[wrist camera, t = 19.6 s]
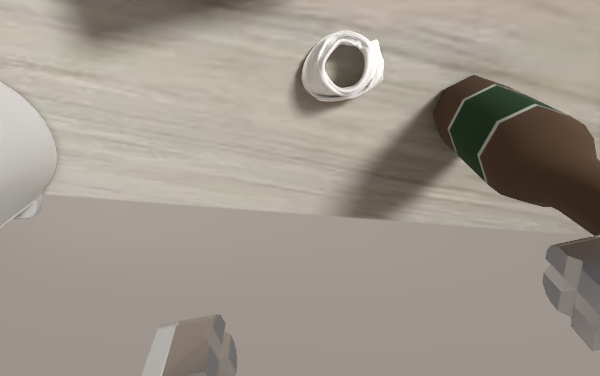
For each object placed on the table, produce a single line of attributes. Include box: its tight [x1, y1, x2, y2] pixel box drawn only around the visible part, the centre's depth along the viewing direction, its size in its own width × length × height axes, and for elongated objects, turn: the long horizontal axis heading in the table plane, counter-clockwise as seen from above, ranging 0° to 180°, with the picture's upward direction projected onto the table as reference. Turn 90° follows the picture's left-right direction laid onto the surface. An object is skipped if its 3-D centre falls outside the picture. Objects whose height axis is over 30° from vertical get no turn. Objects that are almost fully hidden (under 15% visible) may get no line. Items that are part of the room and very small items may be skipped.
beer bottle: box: [433, 75, 600, 236], centre depth 29 cm, size 8×8×24 cm
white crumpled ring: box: [302, 31, 384, 102], centre depth 35 cm, size 8×7×5 cm
